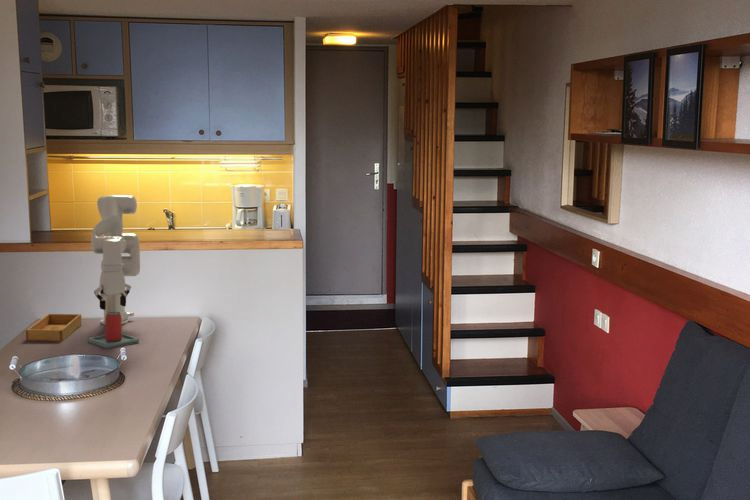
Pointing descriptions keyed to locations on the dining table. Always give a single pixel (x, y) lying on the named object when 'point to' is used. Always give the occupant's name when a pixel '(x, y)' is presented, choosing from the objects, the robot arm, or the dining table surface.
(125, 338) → the slate tray
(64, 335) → the tray
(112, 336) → the beer can
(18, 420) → the dining table surface
